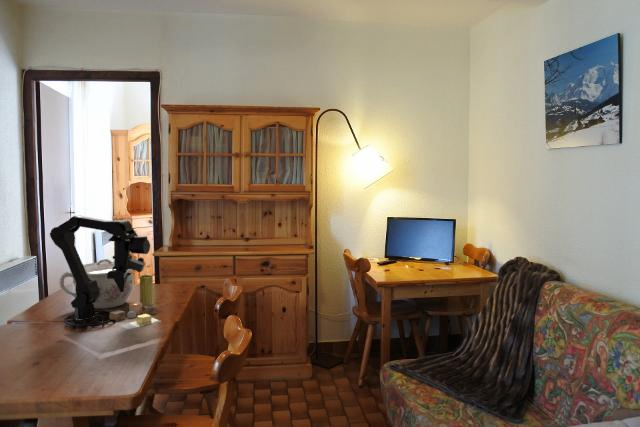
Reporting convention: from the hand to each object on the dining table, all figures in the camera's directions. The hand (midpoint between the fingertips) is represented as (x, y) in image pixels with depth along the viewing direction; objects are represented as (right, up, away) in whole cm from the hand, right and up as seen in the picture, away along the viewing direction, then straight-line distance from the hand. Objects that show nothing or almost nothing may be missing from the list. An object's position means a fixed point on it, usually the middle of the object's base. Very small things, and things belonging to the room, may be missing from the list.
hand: (122, 291), depth 196 cm
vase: (+2, -11, +21) cm, 24 cm away
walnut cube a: (-3, -12, +2) cm, 13 cm away
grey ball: (+2, -12, +4) cm, 13 cm away
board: (+8, -13, -4) cm, 16 cm away
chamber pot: (-18, -10, +25) cm, 33 cm away
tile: (+10, -11, -3) cm, 15 cm away
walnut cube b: (+7, -12, +10) cm, 17 cm away
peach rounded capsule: (+2, -12, +10) cm, 15 cm away
